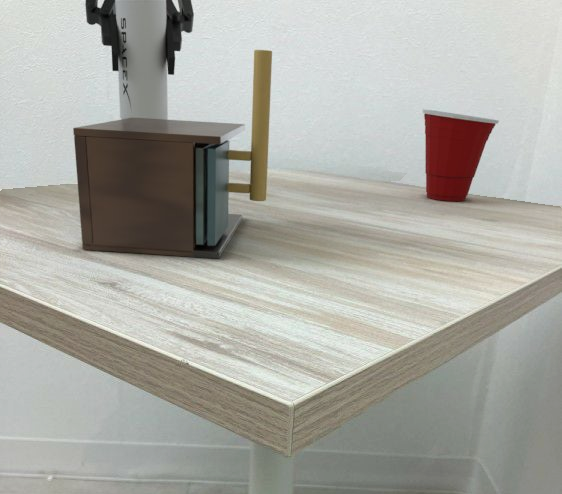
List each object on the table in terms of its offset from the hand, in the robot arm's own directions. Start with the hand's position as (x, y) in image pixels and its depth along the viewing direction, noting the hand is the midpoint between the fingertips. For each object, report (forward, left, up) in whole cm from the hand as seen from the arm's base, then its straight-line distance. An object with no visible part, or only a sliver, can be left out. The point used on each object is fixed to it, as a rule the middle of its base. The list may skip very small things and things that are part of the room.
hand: (143, 64), depth 81 cm
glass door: (+28, -16, -15) cm, 35 cm away
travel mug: (-3, +2, -9) cm, 9 cm away
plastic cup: (+30, +32, -16) cm, 47 cm away
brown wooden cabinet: (+19, -16, -16) cm, 30 cm away
